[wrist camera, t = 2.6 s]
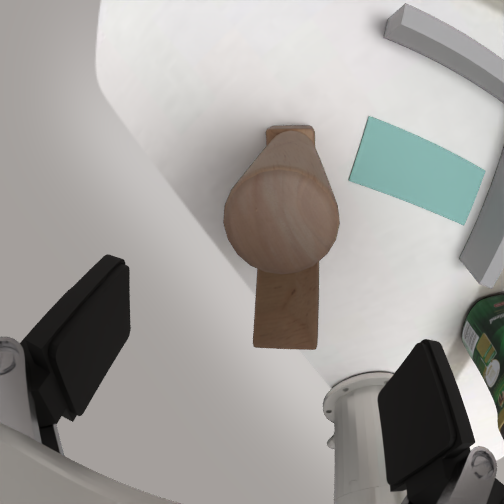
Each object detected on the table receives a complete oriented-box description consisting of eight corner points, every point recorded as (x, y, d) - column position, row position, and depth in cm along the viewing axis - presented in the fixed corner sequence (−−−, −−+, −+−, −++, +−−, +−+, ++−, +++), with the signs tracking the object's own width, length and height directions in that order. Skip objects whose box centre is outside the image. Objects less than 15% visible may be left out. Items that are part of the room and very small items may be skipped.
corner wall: (471, 263, 27) (492, 288, 22) (331, 214, 27) (336, 237, 23) (528, 102, 18) (558, 107, 13) (387, 19, 18) (405, 3, 14)
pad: (463, 224, 25) (463, 225, 25) (348, 180, 25) (349, 180, 25) (484, 170, 22) (485, 170, 22) (368, 116, 23) (369, 116, 22)
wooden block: (274, 241, 29) (240, 403, 13) (269, 125, 24) (211, 162, 8) (313, 242, 29) (319, 407, 13) (313, 125, 24) (343, 160, 8)
